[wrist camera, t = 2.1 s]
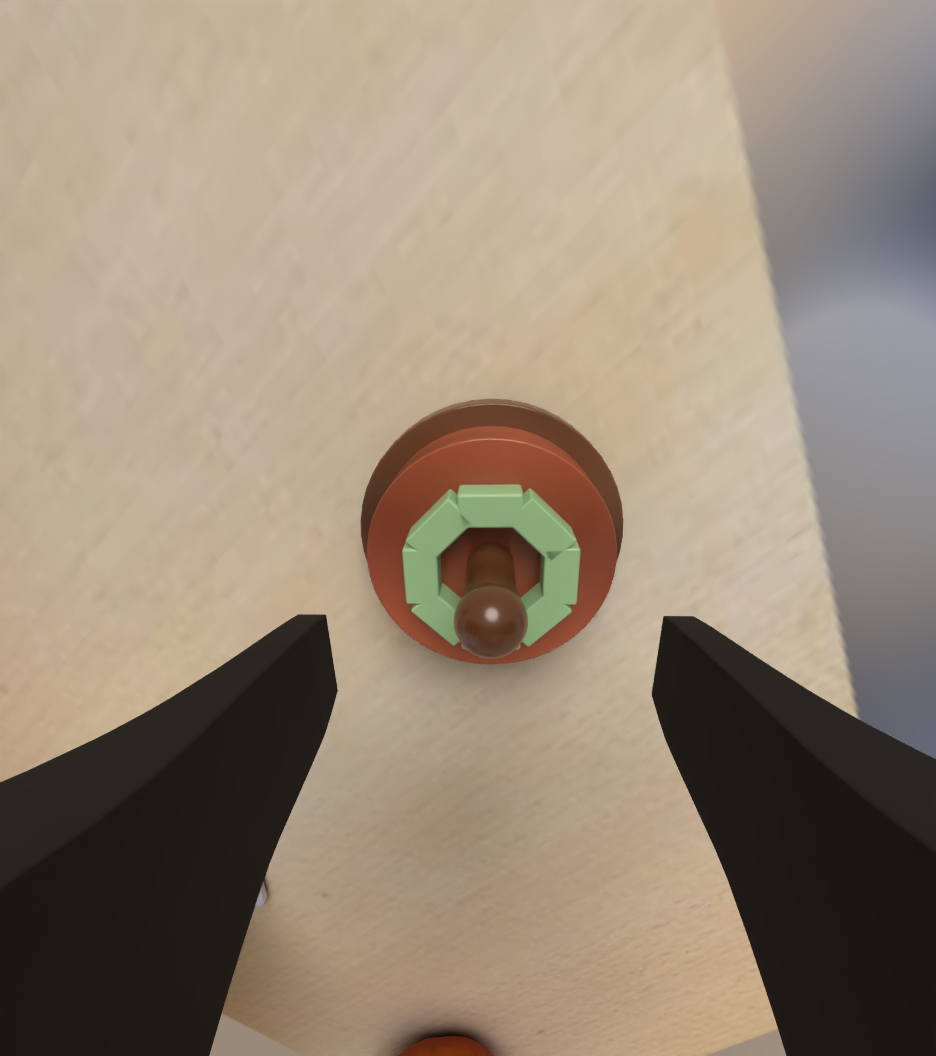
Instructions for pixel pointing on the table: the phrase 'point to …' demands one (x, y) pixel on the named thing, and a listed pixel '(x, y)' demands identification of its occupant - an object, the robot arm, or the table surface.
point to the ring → (491, 511)
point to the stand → (492, 553)
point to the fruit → (446, 1047)
